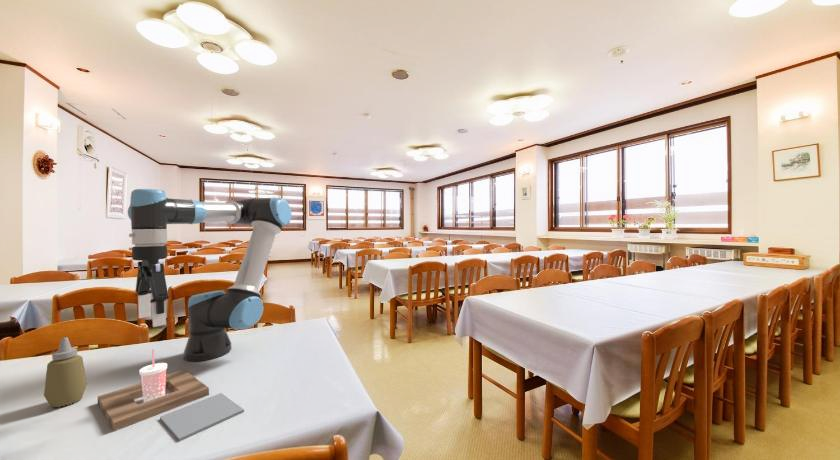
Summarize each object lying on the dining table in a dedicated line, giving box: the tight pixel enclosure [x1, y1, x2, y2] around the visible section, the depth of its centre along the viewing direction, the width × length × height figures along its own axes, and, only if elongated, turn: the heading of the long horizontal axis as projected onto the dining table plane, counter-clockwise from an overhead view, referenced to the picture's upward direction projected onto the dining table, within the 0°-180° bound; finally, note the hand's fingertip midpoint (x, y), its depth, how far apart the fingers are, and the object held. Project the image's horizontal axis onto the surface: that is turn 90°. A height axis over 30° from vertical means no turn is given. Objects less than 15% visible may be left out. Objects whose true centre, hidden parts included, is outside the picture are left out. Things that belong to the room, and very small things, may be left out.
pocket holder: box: [97, 369, 210, 432], centre depth 90 cm, size 20×20×2 cm
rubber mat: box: [159, 392, 245, 442], centre depth 82 cm, size 14×14×1 cm
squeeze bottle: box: [43, 337, 88, 408], centre depth 89 cm, size 8×8×18 cm
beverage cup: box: [138, 349, 168, 403], centre depth 90 cm, size 6×6×14 cm
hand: (151, 321), depth 90 cm, fingers open, 13 cm apart
